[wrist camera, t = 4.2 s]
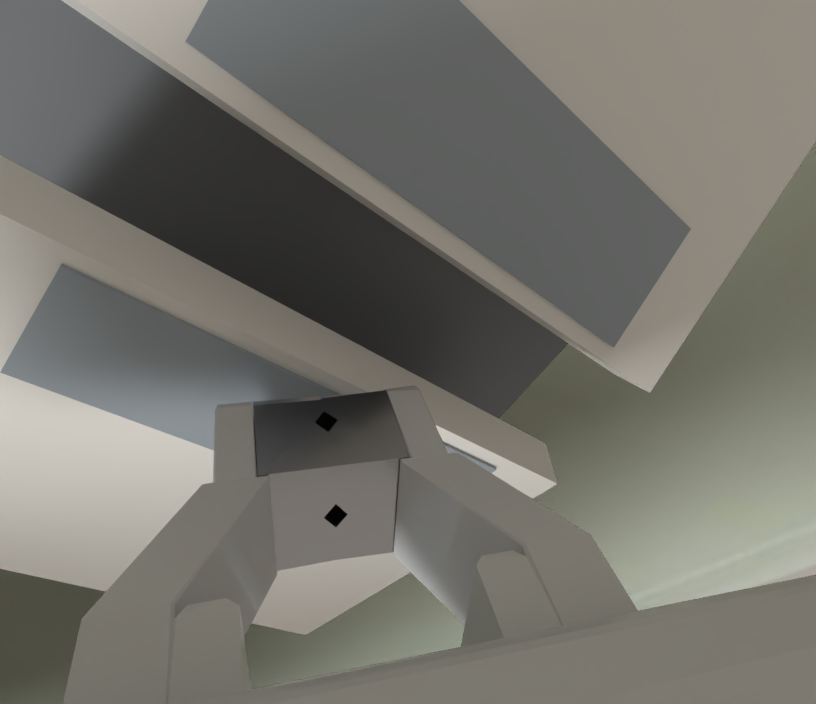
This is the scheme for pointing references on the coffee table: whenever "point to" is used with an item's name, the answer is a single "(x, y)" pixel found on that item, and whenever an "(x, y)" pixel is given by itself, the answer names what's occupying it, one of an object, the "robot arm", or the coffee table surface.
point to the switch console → (248, 206)
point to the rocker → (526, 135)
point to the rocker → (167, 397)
